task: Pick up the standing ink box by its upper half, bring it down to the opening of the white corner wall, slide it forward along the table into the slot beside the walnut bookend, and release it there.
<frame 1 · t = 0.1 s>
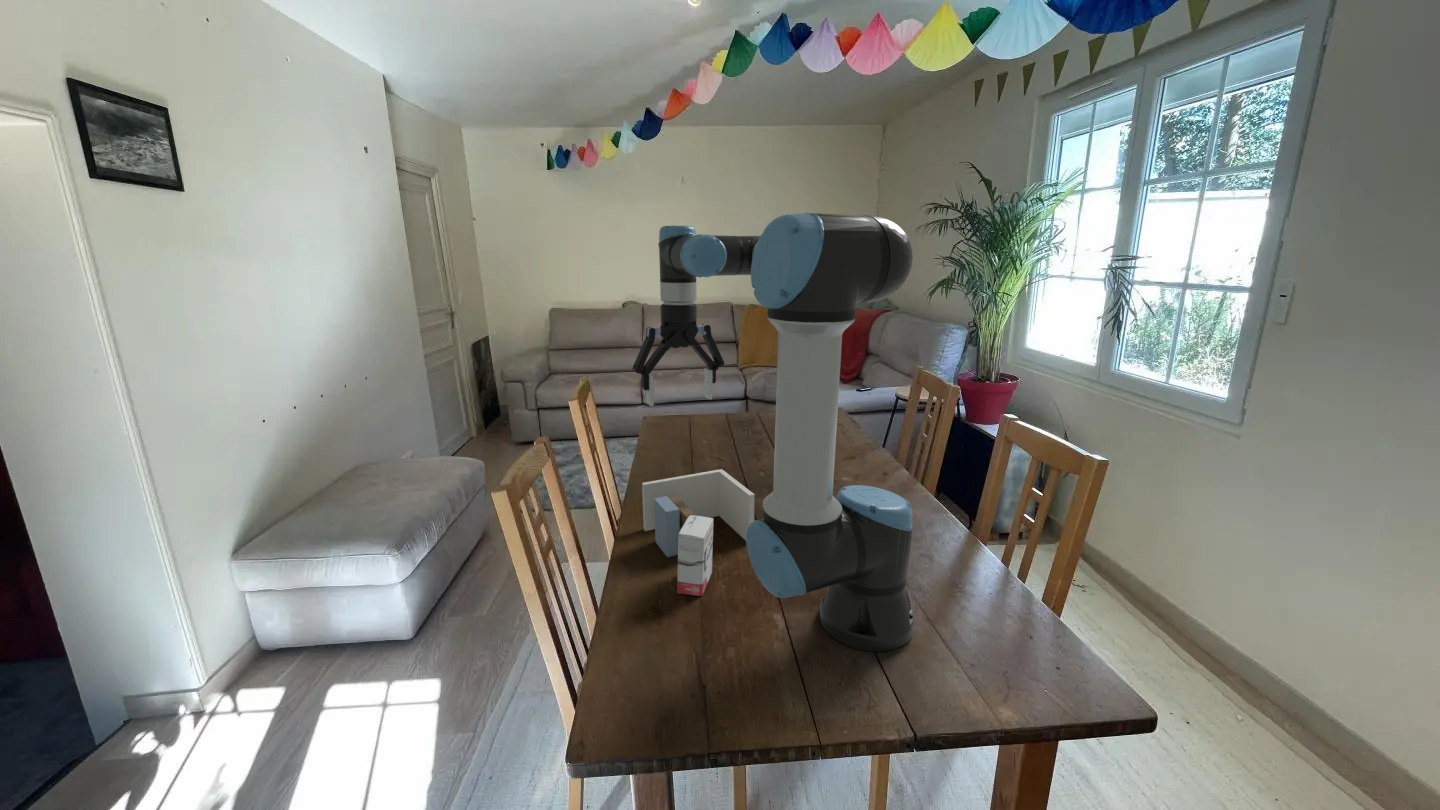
hand: (679, 401, 128), 28 cm above the table, fingers open, 13 cm apart
bookend: (682, 545, 123), on the table
ink box: (695, 584, 109), on the table
white corner wall: (709, 534, 127), on the table
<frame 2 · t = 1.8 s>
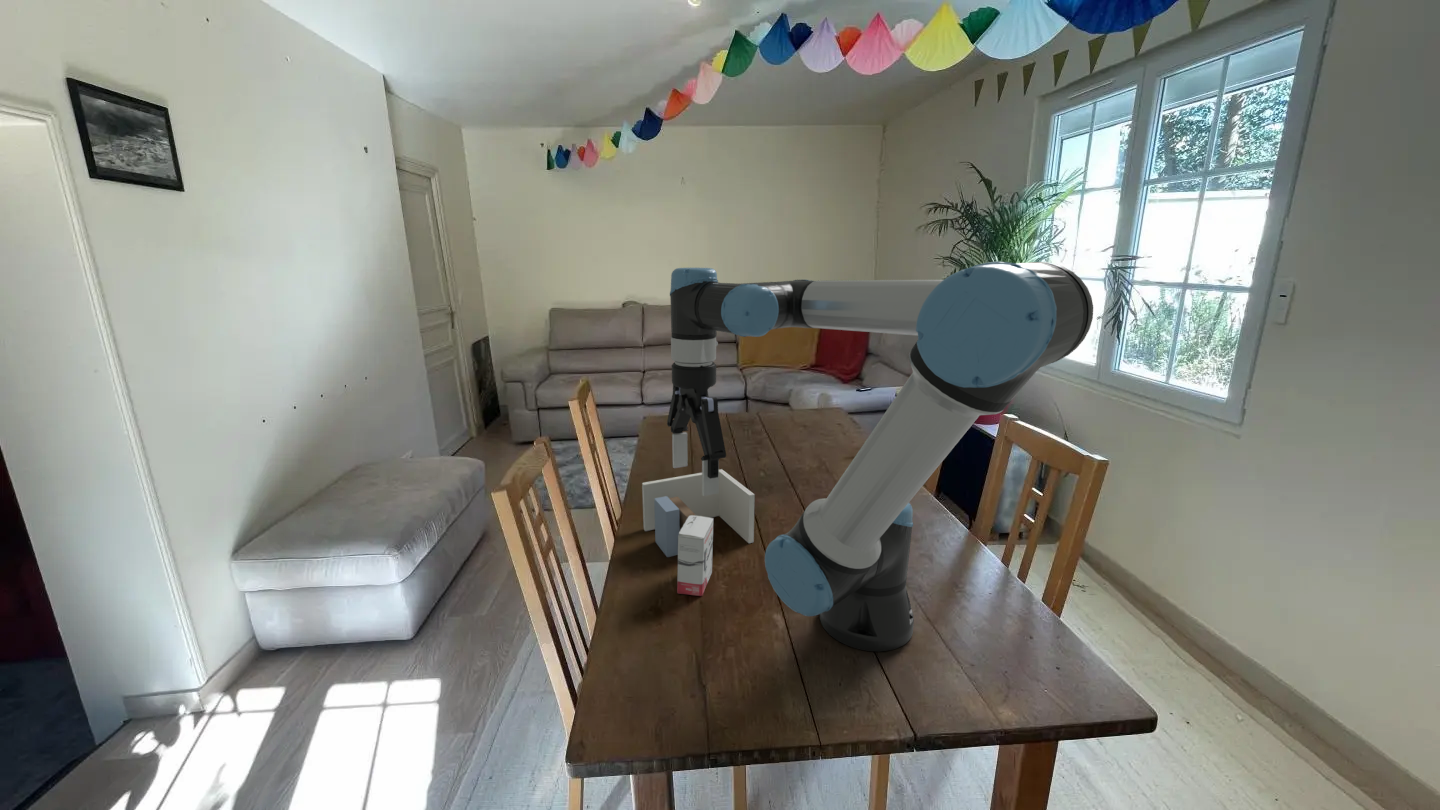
hand: (694, 479, 104), 21 cm above the table, fingers open, 13 cm apart
nothing on the table moved.
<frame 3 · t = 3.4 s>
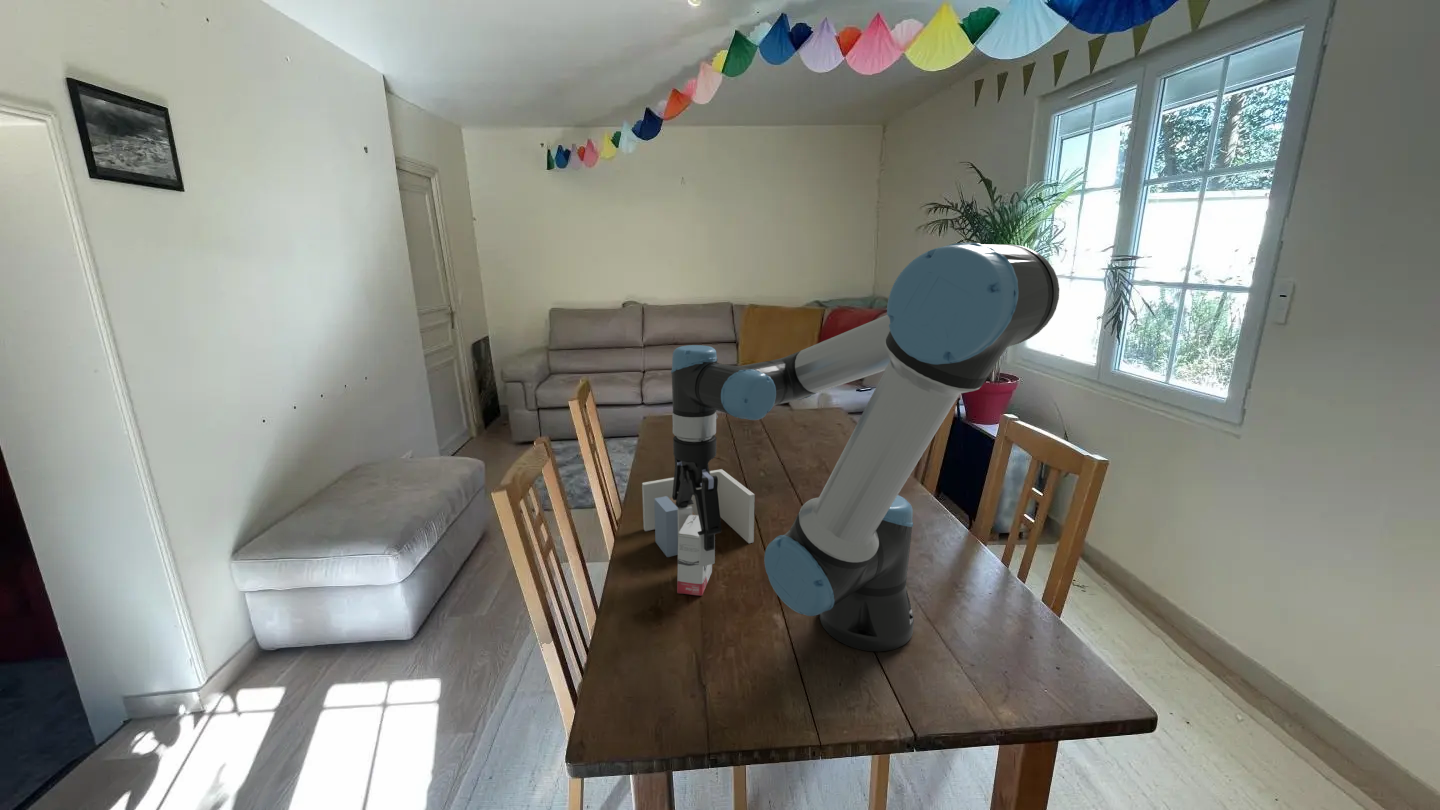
hand: (695, 551, 107), 7 cm above the table, fingers closed on ink box, 9 cm apart
ink box: (695, 583, 109), on the table, touching gripper
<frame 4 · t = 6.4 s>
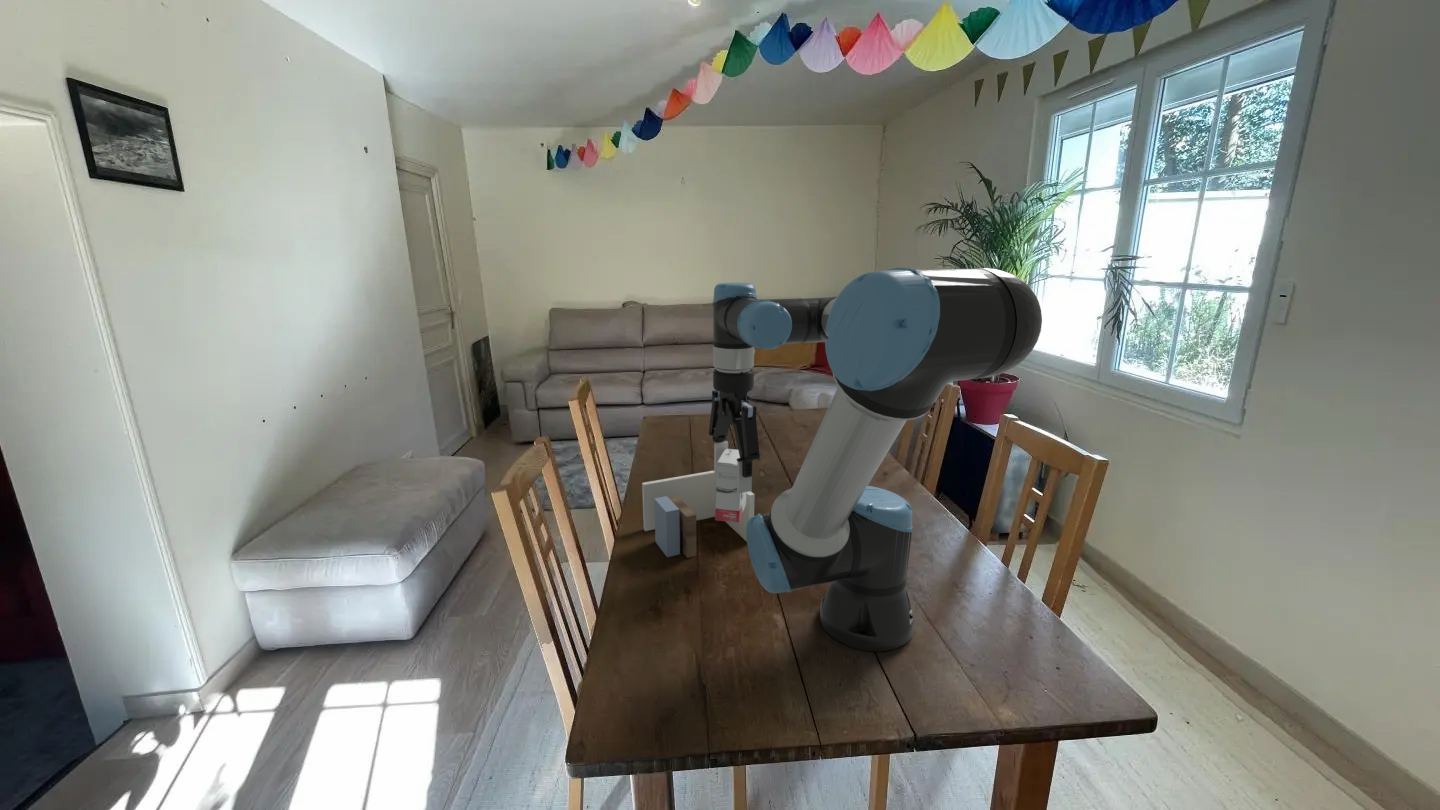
hand: (732, 481, 113), 17 cm above the table, fingers closed on ink box, 9 cm apart
ink box: (731, 513, 115), point 10 cm above the table, touching gripper
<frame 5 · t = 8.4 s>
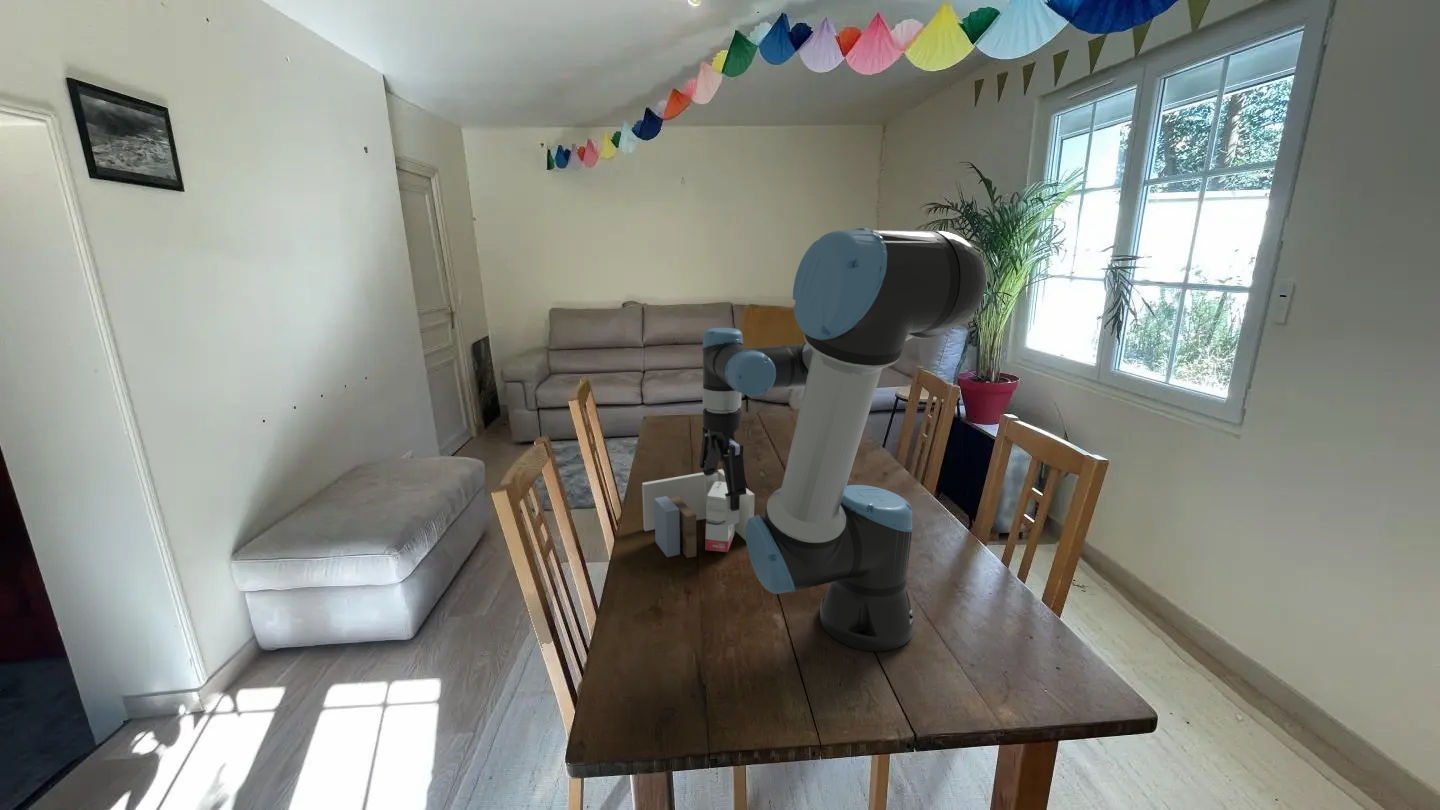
hand: (721, 513, 120), 8 cm above the table, fingers closed on ink box, 9 cm apart
ink box: (721, 542, 122), point 1 cm above the table, touching gripper
when the fingers open (7 cm above the table, at t = 9.6 s): ink box stays where it is, on the table.
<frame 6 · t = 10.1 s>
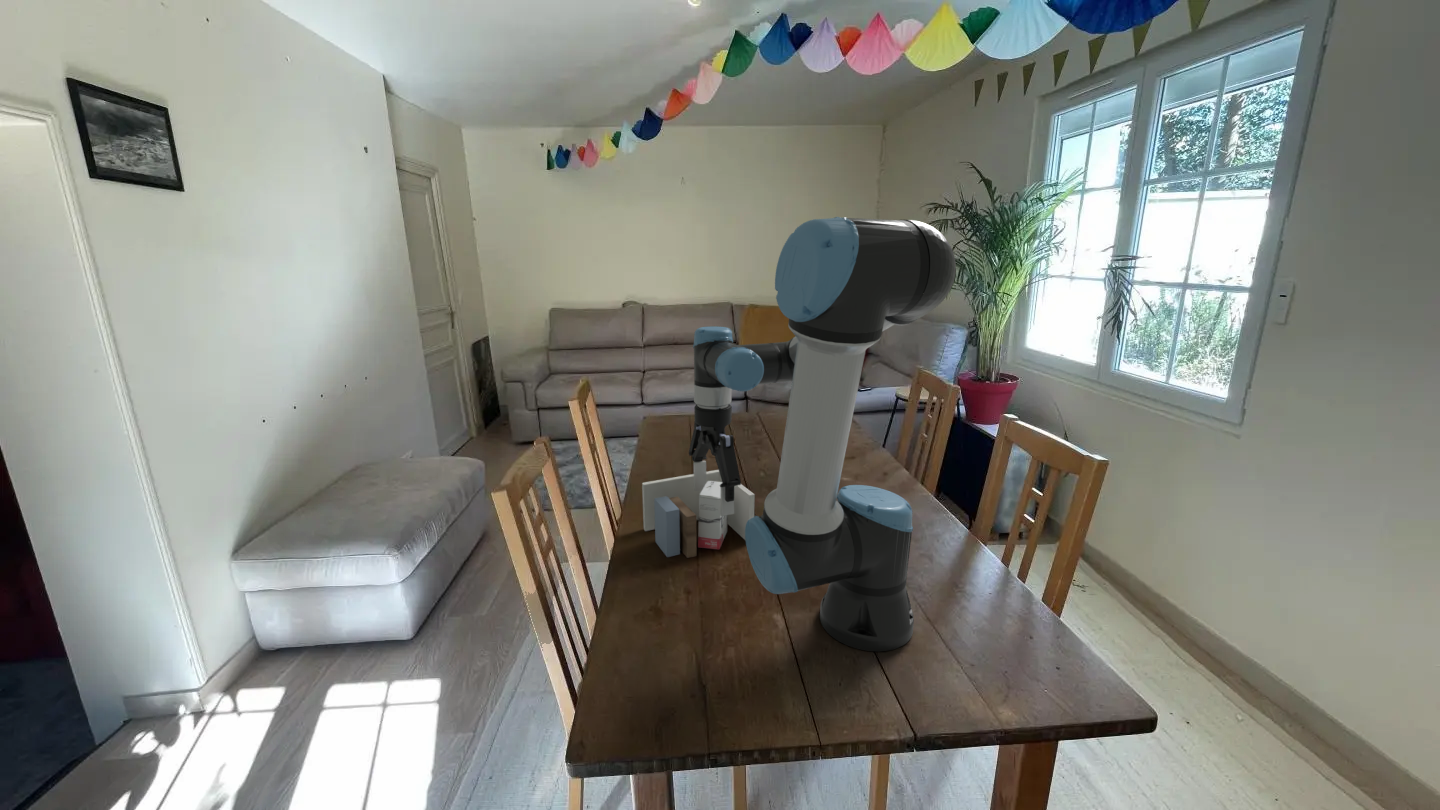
hand: (712, 501, 123), 9 cm above the table, fingers open, 13 cm apart
ink box: (713, 540, 125), on the table
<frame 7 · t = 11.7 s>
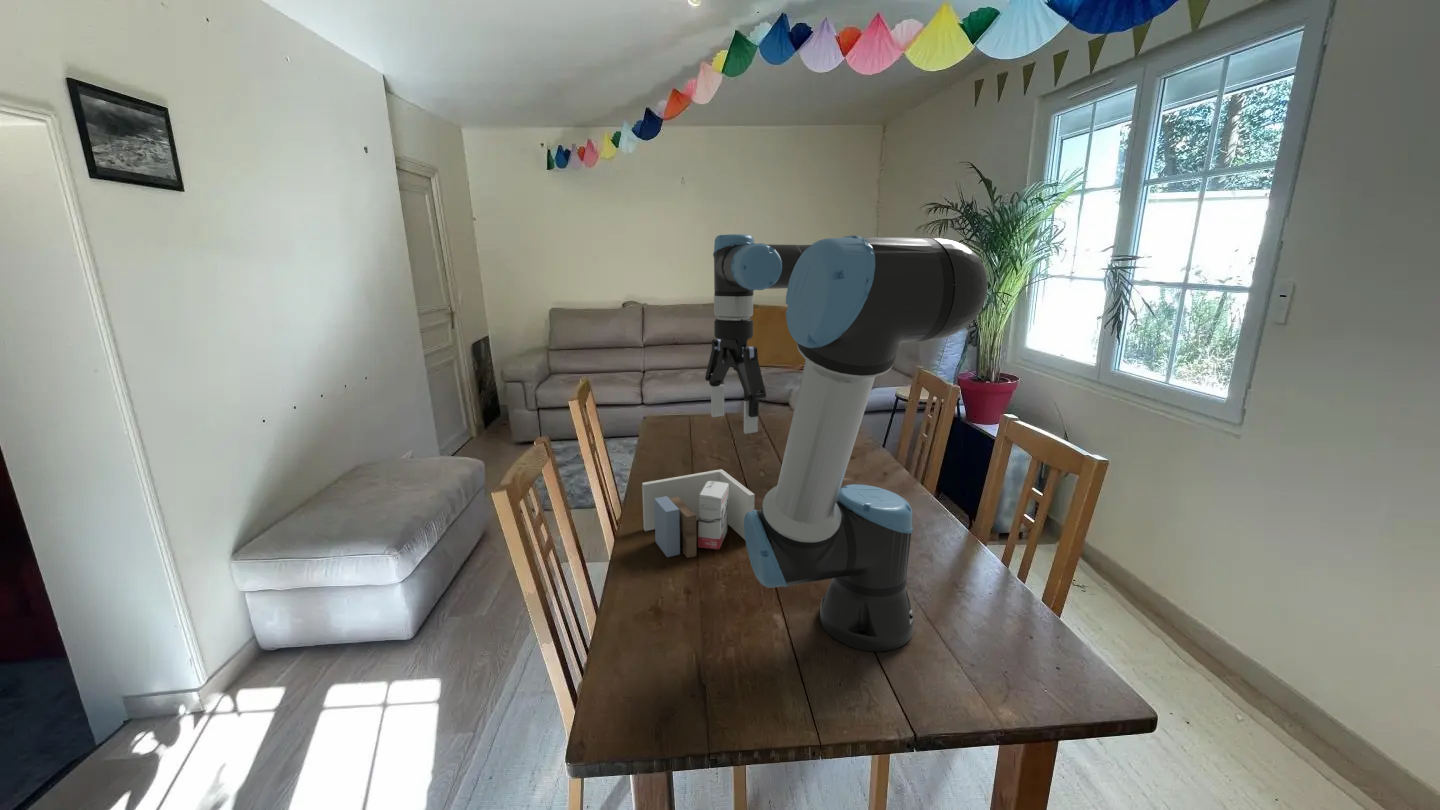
hand: (733, 424, 118), 26 cm above the table, fingers open, 13 cm apart
nothing on the table moved.
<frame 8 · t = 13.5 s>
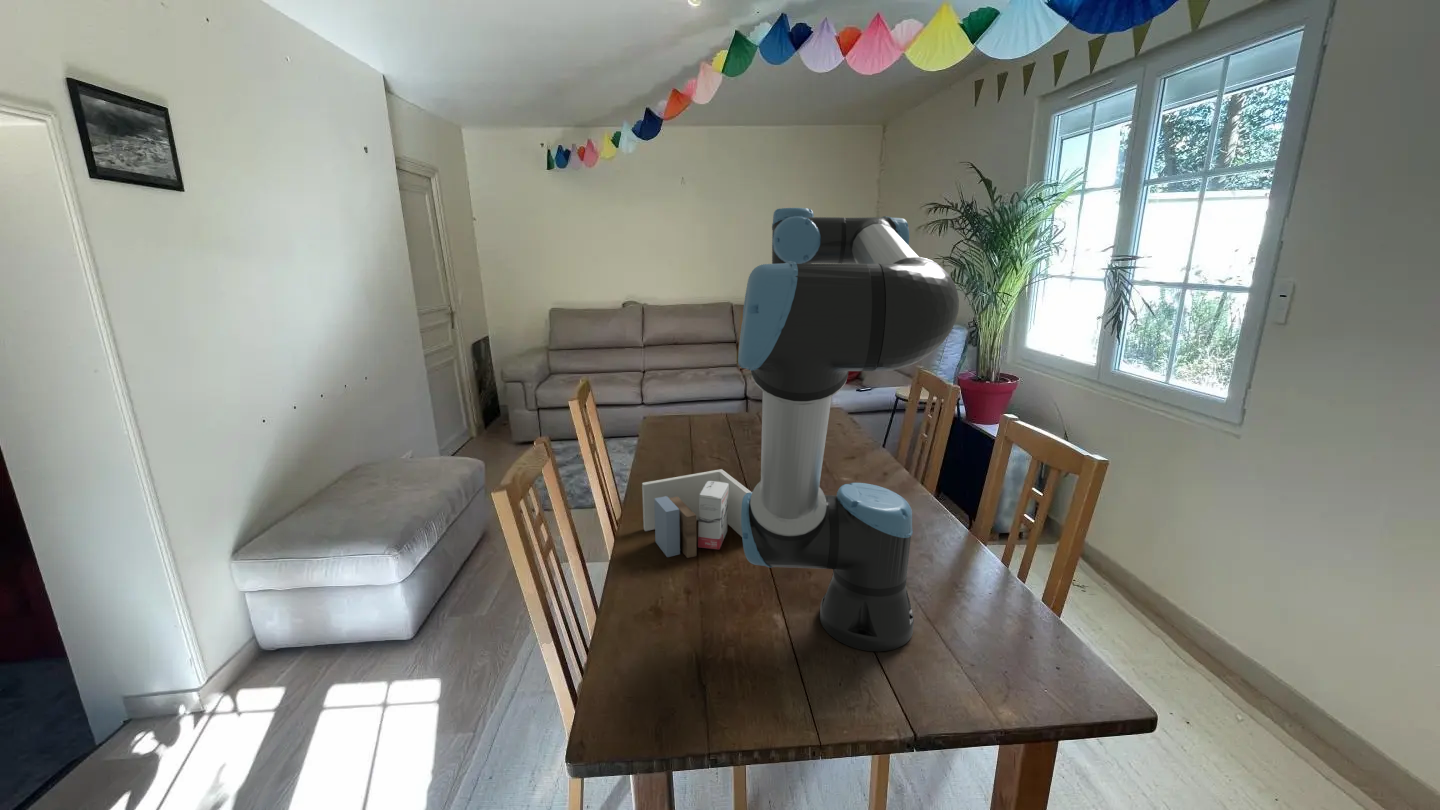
hand: (786, 401, 117), 31 cm above the table, fingers open, 13 cm apart
nothing on the table moved.
at the end: ink box inside the target area (1.0 cm from its centre), on the table; ink box tilted 0° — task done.
